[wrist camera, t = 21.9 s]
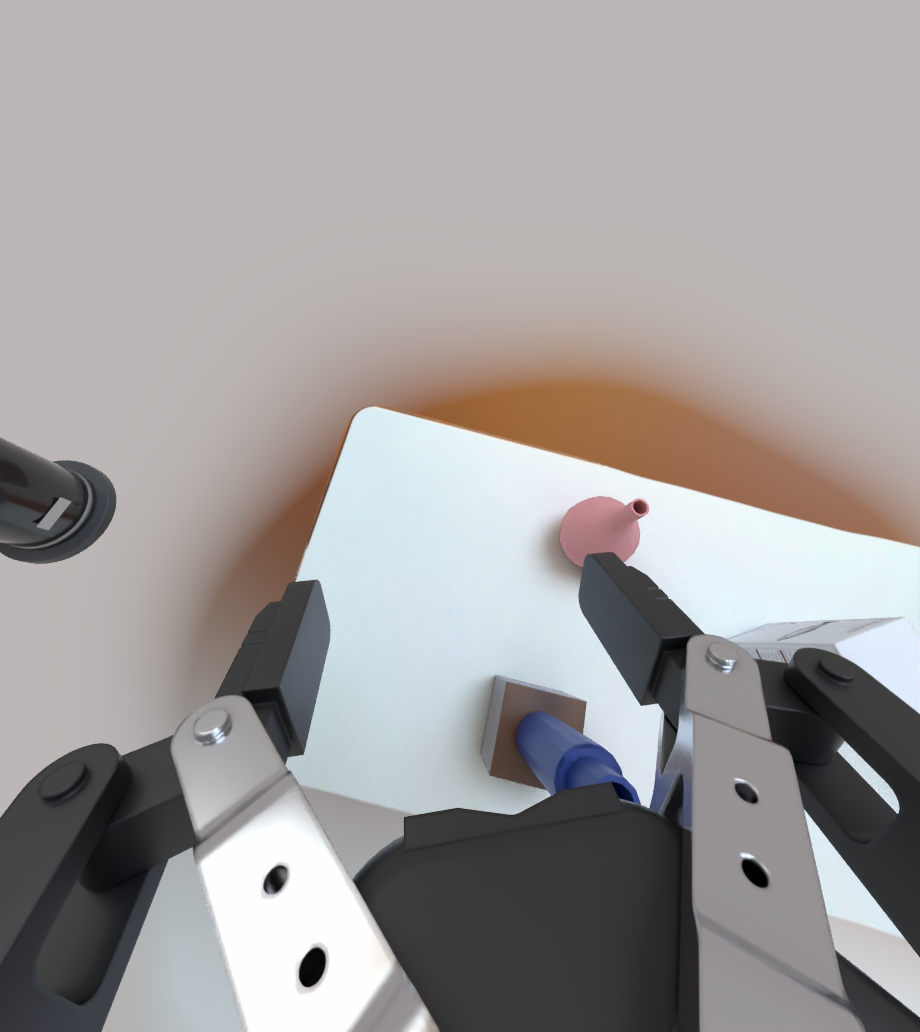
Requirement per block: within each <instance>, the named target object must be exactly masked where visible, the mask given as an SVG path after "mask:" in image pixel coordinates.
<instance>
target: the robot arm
mask: <svg viewBox="0 0 920 1032" xmlns="http://www.w3.org/2000/svg"><path fill="white" fill-rule="evenodd" d="M95 503H96V494H95V490H94V487H93V485H92V484H91V482H90V481H89V480H88V479H87V478H86V477H84V476H83V475H81V474H79V473H77V472H75V471H73V470H70V469H67V468H64V467H62V466H60V465H58V464H56V463H53V462H51V461H49V460H47V459H45V458H43V457H41V456H39V455H37V454H35V453H32V452H30V451H28V450H26V449H23V448H22V447H20V446H17V445H15V444H13V443H11V442H9V441H7V440H4V439H2V438H0V543H4V544H8V545H11V546H14V547H18V548H22V549H28V550H41V549H47V548H51V547H54V546H57V545H59V544H61V543H63V542H65V541H67V540H69V539H70V538H72V537H73V536H74V535H76V534H77V533H78V532H79V531H80V530H81V529H82V528H83V527H84V526H85V525H86V523H87V522H88V521H89V519H90V517H91V515H92V513H93V511H94V508H95ZM579 604H580V608H581V610H582V613H583V614H584V616H585V618H586V619H587V621H588V622H589V624H590V626H591V627H592V629H593V630H594V632H595V634H596V635H597V637H598V638H599V640H600V642H601V643H602V645H603V646H604V648H605V649H606V651H607V653H608V654H609V656H610V657H611V659H612V661H613V662H614V664H615V665H616V667H617V669H618V670H619V672H620V673H621V675H622V677H623V678H624V680H625V681H626V683H627V685H628V686H629V688H630V689H631V691H632V692H633V694H634V696H635V697H636V699H637V700H638V702H639V704H640V705H641V706H643V705H650V704H657V703H658V704H659V706H660V707H661V709H662V710H663V712H662V715H661V718H660V728H659V739H658V751H657V763H656V774H655V785H654V791H653V796H652V800H651V804H650V808H647V807H645V806H642V805H640V804H637V803H634V802H630V801H627V800H622V799H619V797H618V795H617V793H616V791H615V789H614V786H613V784H612V782H611V781H610V782H605V783H599V784H593V785H587V786H581V787H576V788H570V789H564V790H561V791H559V792H558V793H556V794H554V795H552V796H550V797H548V798H546V799H545V800H543V801H541V802H539V803H537V804H535V805H533V806H532V807H530V808H528V809H526V810H524V811H522V812H521V813H518V814H515V815H507V814H499V813H492V812H484V811H477V810H469V809H462V808H454V809H448V810H442V811H437V812H431V813H425V814H419V815H413V816H408V817H404V836H402V837H400V838H398V839H396V840H394V841H393V842H391V843H390V844H388V845H387V846H386V847H384V848H383V849H381V850H380V851H379V852H378V853H377V854H376V855H375V856H373V857H372V858H371V859H370V860H369V861H368V862H367V863H366V864H365V865H364V866H363V868H362V869H361V870H360V871H359V872H358V873H357V874H356V876H355V877H354V878H353V880H352V878H351V877H350V875H349V873H348V871H347V870H346V868H345V866H344V864H343V863H342V861H341V859H340V857H339V855H338V853H337V852H336V850H335V848H334V847H333V845H332V843H331V841H330V839H329V838H328V836H327V834H326V832H325V830H324V829H323V827H322V825H321V823H320V821H319V820H318V818H317V816H316V814H315V813H314V811H313V809H312V808H311V806H310V804H309V802H308V800H307V798H306V797H305V795H304V793H303V791H302V789H301V788H300V786H299V784H298V782H297V780H296V779H295V777H294V775H293V774H292V772H291V771H290V770H289V771H288V769H287V768H286V766H285V765H286V761H287V757H292V756H298V755H304V751H305V746H306V742H307V738H308V733H309V729H310V725H311V720H312V716H313V712H314V707H315V703H316V699H317V694H318V690H319V685H320V681H321V677H322V672H323V668H324V664H325V659H326V655H327V651H328V646H329V642H330V621H329V617H328V613H327V609H326V604H325V600H324V596H323V592H322V588H321V584H320V582H319V581H318V580H310V581H299V582H291V583H289V584H288V586H287V588H286V591H285V593H284V595H283V597H282V600H281V601H279V602H270V603H269V604H268V605H267V606H266V607H265V608H264V609H263V610H262V611H261V612H260V613H259V614H258V615H257V616H256V617H255V619H254V621H253V623H252V625H251V627H250V629H249V631H248V635H246V637H245V639H244V641H243V643H242V648H240V649H239V651H238V653H237V655H236V657H235V659H234V661H233V663H232V665H231V667H230V669H229V671H228V673H227V675H226V677H225V679H224V681H223V683H222V685H221V687H220V689H219V691H218V693H217V695H216V697H215V699H214V700H211V701H209V702H207V703H205V704H204V705H202V706H200V707H199V708H197V709H196V710H195V711H193V712H192V713H191V714H190V715H189V716H188V717H186V718H185V719H184V721H183V722H182V723H181V724H180V725H179V727H178V728H177V730H176V731H175V733H174V735H172V736H170V737H168V738H166V739H163V740H161V741H159V742H156V743H153V744H150V745H148V746H145V747H143V748H141V749H138V750H136V751H133V752H130V753H128V754H125V755H123V756H121V755H120V754H119V753H118V751H117V750H116V748H115V747H113V746H112V745H109V744H102V743H100V744H93V745H89V746H85V747H82V748H79V749H77V750H74V751H72V752H70V753H68V754H66V755H64V756H63V757H61V758H59V759H58V760H56V761H54V762H53V763H51V764H50V765H49V766H47V767H46V768H45V769H43V770H42V771H41V772H40V773H38V774H37V775H36V776H35V777H34V778H33V779H32V780H31V781H30V782H29V783H28V784H27V785H26V786H25V787H24V788H23V789H22V791H21V792H20V793H19V794H18V795H17V797H16V798H15V799H14V801H13V802H12V803H11V805H10V806H9V807H8V809H7V810H6V811H5V813H4V814H3V815H2V816H1V818H0V1032H101V1031H102V1029H103V1026H104V1023H105V1021H106V1018H107V1015H108V1013H109V1011H110V1008H111V1006H112V1002H113V1000H114V998H115V995H116V992H117V990H118V988H119V985H120V982H121V980H122V977H123V975H124V972H125V969H126V967H127V964H128V962H129V959H130V957H131V954H132V951H133V949H134V946H135V944H136V941H137V939H138V936H139V934H140V931H141V928H142V925H143V923H144V921H145V918H146V916H147V913H148V910H149V908H150V905H151V903H152V900H153V897H154V895H155V893H156V890H157V887H158V885H159V882H160V880H161V877H162V875H163V872H164V869H165V867H166V864H167V862H168V859H169V858H171V857H173V856H175V855H177V854H179V853H181V852H183V851H185V850H187V849H189V848H191V847H193V855H194V859H195V864H196V868H197V871H198V875H199V878H200V882H201V885H202V889H203V892H204V896H205V900H206V903H207V907H208V910H209V914H210V917H211V920H212V924H213V928H214V931H215V935H216V939H217V942H218V945H219V949H220V953H221V956H222V960H223V963H224V967H225V970H226V974H227V977H228V981H229V985H230V988H231V992H232V995H233V999H234V1002H235V1006H236V1009H237V1013H238V1016H239V1020H240V1024H241V1027H242V1031H243V1032H920V1017H918V1016H917V1015H916V1014H915V1013H914V1012H912V1011H911V1010H910V1009H908V1008H907V1007H906V1006H905V1005H903V1004H902V1003H901V1002H900V1001H899V1000H897V999H896V998H895V997H894V996H892V995H891V994H890V993H888V992H887V991H886V990H885V989H883V988H882V987H881V986H880V985H878V984H877V983H876V982H875V981H873V980H872V979H871V978H870V977H868V976H867V975H866V974H865V973H864V972H862V971H861V970H860V969H859V968H857V967H856V966H855V965H853V964H852V963H851V962H850V961H848V960H847V959H846V958H845V957H843V956H842V955H841V954H840V953H838V952H837V951H836V950H835V948H834V943H833V939H832V934H831V930H830V925H829V921H828V916H827V912H826V907H825V903H824V898H823V894H822V889H821V885H820V880H819V876H818V871H817V867H816V862H815V858H814V853H813V849H812V844H811V840H810V835H809V831H808V826H807V822H806V817H805V813H804V809H805V810H806V812H807V813H808V814H809V816H810V817H811V818H812V819H813V821H814V822H815V823H816V825H817V826H818V827H819V828H820V830H821V831H822V832H823V834H824V835H825V836H826V837H827V839H828V840H829V841H830V843H831V844H832V845H833V846H834V848H835V849H836V850H837V852H838V853H839V854H840V855H841V857H842V858H843V859H844V861H845V862H846V863H847V864H848V866H849V867H850V868H851V870H852V871H853V872H854V873H855V875H856V876H857V877H858V879H859V880H860V881H861V882H862V884H863V885H864V886H865V888H866V889H867V890H868V891H869V893H870V894H871V895H872V897H873V898H874V899H875V900H876V902H877V903H878V904H879V906H880V907H881V908H882V909H883V911H884V912H885V913H886V915H887V916H888V917H889V918H890V920H891V921H892V922H893V924H894V925H895V926H896V927H897V929H898V930H899V931H900V933H901V934H902V935H903V936H904V938H905V939H906V940H907V942H908V943H909V944H910V945H911V947H912V948H913V949H914V951H915V952H916V953H917V954H918V956H919V957H920V714H919V713H918V712H917V711H916V710H914V709H913V708H912V707H910V706H909V705H908V704H907V703H905V702H904V701H903V700H902V699H900V698H899V697H898V696H897V695H895V694H894V693H893V692H891V691H890V690H889V689H888V688H886V687H885V686H884V685H883V684H881V683H880V682H879V681H878V680H876V679H875V678H874V677H873V676H871V675H870V674H869V673H867V672H866V671H865V670H864V669H862V668H861V667H859V666H858V665H857V664H855V663H853V662H852V661H850V660H848V659H846V658H844V657H842V656H840V655H837V654H835V653H832V652H829V651H826V650H822V649H817V648H801V649H799V650H797V651H796V652H795V653H794V655H793V657H792V658H791V660H790V662H789V663H783V662H776V661H769V660H761V659H754V658H753V657H752V656H751V655H750V654H749V653H748V652H747V651H746V650H744V649H743V648H742V647H740V646H739V645H737V644H735V643H734V642H732V641H729V640H727V639H725V638H722V637H718V636H714V635H706V634H704V633H703V632H702V631H701V630H700V629H699V628H698V627H697V626H696V625H695V624H694V623H693V622H692V620H691V619H690V618H689V617H688V616H687V615H686V614H685V613H684V612H683V611H682V610H681V609H680V608H679V607H678V606H677V605H676V604H675V603H674V602H673V601H672V600H671V599H668V596H667V595H666V594H665V593H664V592H663V591H662V590H661V589H659V587H658V586H657V585H656V584H655V583H654V582H653V581H652V580H651V579H650V578H649V577H648V576H647V575H646V574H644V573H642V572H641V571H639V570H637V569H635V568H634V567H632V566H626V565H625V564H624V563H623V562H622V561H621V559H620V558H619V557H618V556H617V555H616V554H615V553H613V552H603V553H593V554H587V555H586V556H585V559H584V564H583V570H582V576H581V582H580V588H579ZM844 741H846V742H847V743H848V744H849V745H850V746H851V747H852V748H853V749H854V750H855V751H856V752H857V753H858V754H859V755H860V756H861V757H862V758H863V759H864V760H865V761H866V762H867V763H868V764H869V765H870V766H871V767H872V768H873V769H874V770H875V771H876V772H877V773H878V774H879V775H880V776H881V777H882V778H883V779H884V780H885V781H886V782H887V783H888V785H889V786H890V787H891V788H892V790H893V791H894V793H895V795H896V797H897V799H898V802H899V806H900V810H899V813H898V814H897V813H896V812H895V811H894V810H893V809H892V808H891V807H890V806H889V805H888V804H887V803H886V802H885V801H884V799H883V798H882V797H881V796H880V795H879V794H878V793H877V792H876V791H875V790H874V789H873V788H872V787H871V786H870V785H869V784H868V783H867V782H866V781H865V780H864V779H863V778H862V777H861V776H860V775H859V773H858V772H857V771H856V770H855V769H854V768H853V767H852V766H851V765H850V764H849V763H848V762H847V761H846V760H845V759H844V758H843V757H842V756H841V755H840V754H839V753H838V752H837V751H838V749H839V748H840V747H841V745H842V744H843V743H844Z"/></svg>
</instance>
